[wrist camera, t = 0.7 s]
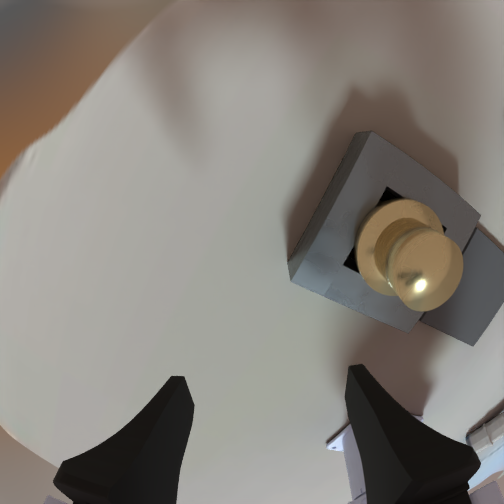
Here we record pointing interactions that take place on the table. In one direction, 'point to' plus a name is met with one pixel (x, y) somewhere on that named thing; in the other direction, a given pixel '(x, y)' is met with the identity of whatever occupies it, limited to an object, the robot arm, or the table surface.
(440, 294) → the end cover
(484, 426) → the toothbrush head
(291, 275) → the housing
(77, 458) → the robot arm
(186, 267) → the table surface
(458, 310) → the mat
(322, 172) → the table surface
